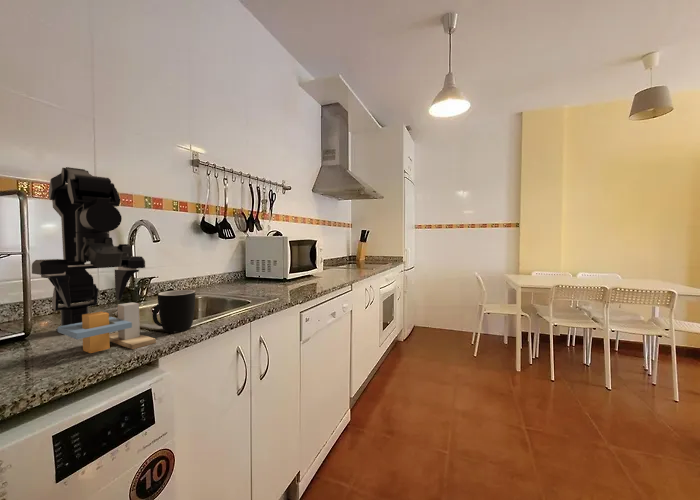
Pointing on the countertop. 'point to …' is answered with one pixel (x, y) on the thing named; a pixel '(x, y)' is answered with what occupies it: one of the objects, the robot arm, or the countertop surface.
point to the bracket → (110, 324)
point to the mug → (175, 310)
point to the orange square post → (96, 341)
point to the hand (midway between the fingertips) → (94, 303)
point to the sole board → (132, 341)
